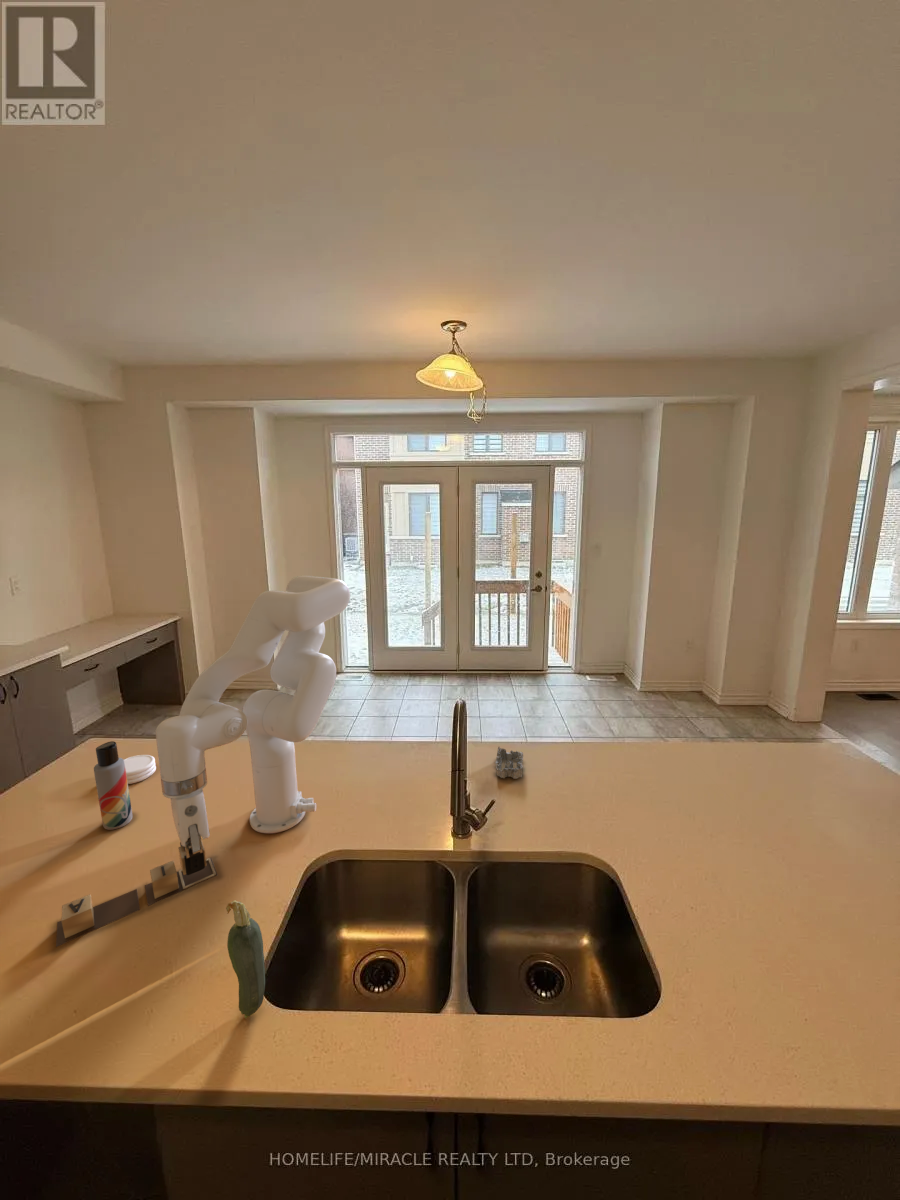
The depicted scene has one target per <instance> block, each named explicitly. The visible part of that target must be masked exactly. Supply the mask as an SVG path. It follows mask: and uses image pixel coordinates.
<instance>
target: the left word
mask: <svg viewBox="0 0 900 1200" xmlns="http://www.w3.org/2000/svg"><path fill="white" fill-rule="evenodd" d="M140 910H141V907H140V900H139V894H138V888H135V889H133V890H131V891H128V892H126V893H124V894H121V895H119V896H116V897H114V898H112V899H109V900H107V901H104V902H101V903H100V904H97V905H95V906H94V903H93V899H92V894H91V893H89V894H87V895H84V896H82V897H80V898H76V899H74V900H72V901H70V902H67V903H65V904H62V905H61V920H59V921H57V923H56V941H55V942H56V943H55V947H56V948H58V947H60V946H62V945H65V944H66V943H69V942H71V941H74V940H75V939H78V938H81V937H83V936H85V935H87V934H89V933H91V932H93V931H96V930H98V929H101V928H102V927H104V926H107V925H109V924H111V923H113V922H116V921H119V920H121V919H123V918H125V917H127V916H130V915H133V914H134V913H137V912H139V911H140Z"/></svg>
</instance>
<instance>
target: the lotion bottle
mask: <svg viewBox="0 0 900 1200" xmlns="http://www.w3.org/2000/svg"><path fill="white" fill-rule="evenodd" d="M95 754H96V760H97V763H96V764H95V765H94V766H93V774H94V781H95V785H96V793H97V798H98V804H99V809H100V816H101V822H102V826H103V828H104V829H105V830H108V831H109V830H110V831H113V830H117V829H121V828H123V827H125V826H126V825H128V824H129V823H130V822H132V820H133V808H132V802H131V797H130V790H129V789H130V788H129V784H128V782H127V776H126V769H125V763H124V758H122V757H119V752H118V745H117V742H116V741H112V740H111V741H107V742H104V743H102V744H100V745H98V746H97V747H96V748H95Z"/></svg>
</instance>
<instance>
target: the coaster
mask: <svg viewBox="0 0 900 1200" xmlns="http://www.w3.org/2000/svg"><path fill="white" fill-rule="evenodd" d="M123 760H124V763H125V769H126V776H127V782H128V785H131V784H136V783H139V782H142V781H144V780H147V779H148V778H150V777H151V776H153V774H154V773H155V772H156V770H157V766H156V759H155V757H154V756H153V755H150V754H138V755H133V756H129V757H127V758H123Z"/></svg>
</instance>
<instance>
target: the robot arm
mask: <svg viewBox="0 0 900 1200" xmlns="http://www.w3.org/2000/svg"><path fill="white" fill-rule="evenodd" d="M350 600H351V591H350V588H349V586H348V585H347V584H346V582H344V581H343V580H341V579H339V578H336V577H335V578H334V577H324V576H315V575H314V576H313V575H297V576H295V577H293V578H291V579H290V580H289V581H288V583H287V585H286V590H285V591H283V590H265V591H263V592H261V593H259V594H258V596H257V597H256V598H255V600H254V601H253V604H252V605H251V608H250V609H249V610H248V613H247V615H246V617H245V618H244V621H243V622H242V625H241V626H240V629H239V631H238V632H237V635H236V636H235V638H234V640H233V643H232V644H231V646H230V648H229V649H228V650H227V651H226V652H225V653H223V654H222V655H221V656H219V657H218V658H217V659H216V660H215V661H213V662H212V663H211V664H210V665H209V666H208V667H207V668H205V669H204V670H203V671H202V672H201V673H200V674H199V676H197V678H196V679H195V681H194V682H193V684H192V686H191V688H190V689H189V692H188V693H187V695H186V697H185V699H184V701H183V703H182V706H181V708H180V711H179V715H175V716H174V715H173V716H171V717H168V718H166V719H164V720H162V721H161V722H159V724H158V725H157V727H156V729H155V740H156V750H157V757H158V765H159V774H160V775H159V776H160V783H161V792H162V793H161V794H162V796H163V797H165V798H167V799H170V807H171V813H172V818H173V819H172V820H173V823H174V827H175V830H176V834H177V837H178V839H179V845H180V846H179V847H181V846H184V847H185V852H186V856H184V859H185V868H186V874H187V875H190V874H193V873H195V872H198V871H200V870H202V869H204V868H205V862H204V852H203V849H202V843H203V841H202V840H206V839H209V838H210V836H211V834H210V828H209V827H210V826H209V820H208V812H207V806H206V805H207V803H206V799H205V798H206V797H205V793H204V788H206V786H207V784H208V778H207V777H208V776H207V766H206V753H205V751H207V750H211V749H215V748H218V747H219V748H220V747H223V746H226V745H229V744H231V743H233V742H236V741H237V740H238V739H240V738H241V737H242V736H243V734H244V733H245V732H246V736H247V740H248V744H249V752H250V760H251V761H250V762H251V772H252V782H253V793H254V801H255V802H254V803H255V804H254V805H255V808H254V809H253V810H252V811H251V813H250V815H249V825H250V827H251V829H252V830H254V831H255V832H258V833H260V834H276V833H282V832H284V831H287V830H289V829H291V828H293V827H294V826H297V824H299V823H300V822H301V821H302V820H303V819H304V817H305V816H306V812H307V813H315V812H316V811H317V807H318V806H317V805H318V804H317V802H314V801H315V799H314V797H308V798H307V797H306V798H305V797H303V794H302V793H303V791H301V790H300V791H299V790H298V778H297V777H298V776H297V765H296V762H297V761H296V750H295V749H296V747H295V743H300V742H303V741H305V740H306V739H307V738H309V737H310V735H311V734H312V733H313V731H314V730H315V728H316V726H317V725H318V722H319V720H320V718H321V715H322V713H323V712H324V709H325V707H326V705H327V702H328V701H329V698H330V696H331V694H332V691H333V689H334V687H335V683H336V679H337V665H336V663H335V661H334V660H333V659H332V657H330V656H329V655H327V654H325V653H322V652H320V651H321V648H322V645H323V643H324V641H325V637H326V626H325V622H327V621H329V620H331V619H333V618H335V617H337V616H338V615H340V614H342V613H343V612H344V611H345V610H346V609H347V607H348V605H349V603H350ZM285 631H288V633H287V634H286V637H285V638H284V640H283V643H282V644H281V646H280V648H279V650H278V652H277V654H276V656H275V658H274V660H273V662H272V664H271V667H270V671H269V676H270V679H271V681H272V682H273V683H274V684H276V685H277V686H280V687H283V688H285V689H290V690H293V691H295V692H294V694H289V693H286V692H283V691H279V690H274V689H260V690H257V691H255V692H253V693H251V694H250V695H249V696H248V697H247V699H246V700H245V702H244V703H243V707H242V710H241V709H240V708H238V707H235V706H232V705H229V704H226V703H223V702H220V699H221V698H222V696H223V694H224V693H225V691H226V690H227V689H228V687H229V686H230V685H231V684H232V683H233V682H234V681H237V680H238V679H240V678H241V677H243V676H245V675H249V674H251V673H253V672H256V671H259V670H261V669H264V668H266V667H267V666H268V665H269V664H270V663H271V660H272V658H273V656H274V654H275V651H276V649H277V647H278V646H279V643H280V641H281V639H282V637H283V635H284V633H285ZM201 841H202V842H201ZM190 844H191V847H192V848H190V849H189V846H188V845H190Z"/></svg>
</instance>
